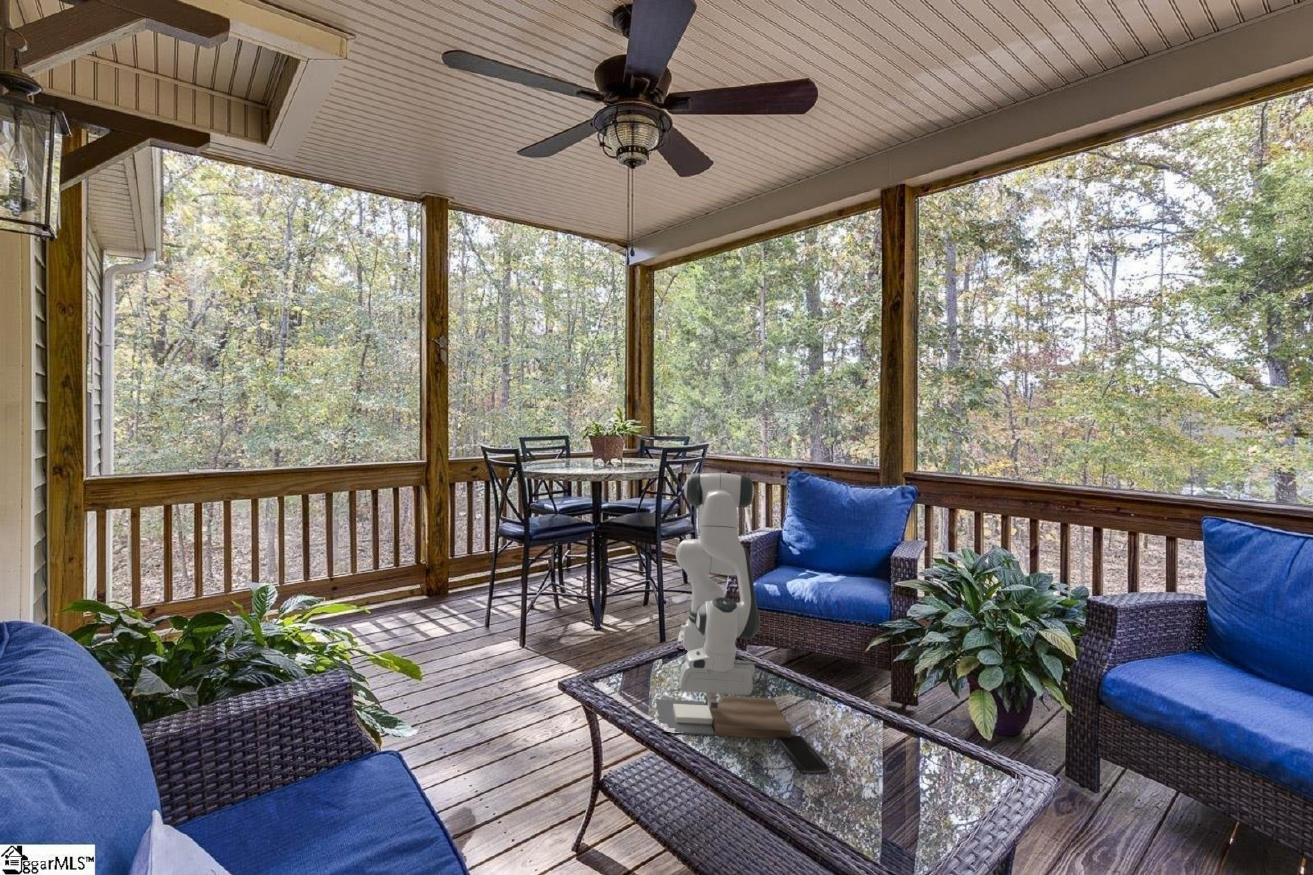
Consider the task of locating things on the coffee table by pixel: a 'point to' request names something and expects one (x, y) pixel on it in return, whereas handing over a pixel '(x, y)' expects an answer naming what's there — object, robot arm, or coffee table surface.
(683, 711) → the tile
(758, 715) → the wooden board
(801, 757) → the phone
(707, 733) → the mat
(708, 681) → the robot arm
